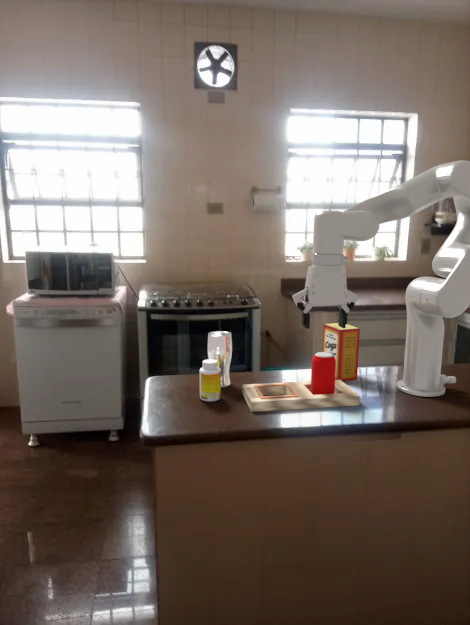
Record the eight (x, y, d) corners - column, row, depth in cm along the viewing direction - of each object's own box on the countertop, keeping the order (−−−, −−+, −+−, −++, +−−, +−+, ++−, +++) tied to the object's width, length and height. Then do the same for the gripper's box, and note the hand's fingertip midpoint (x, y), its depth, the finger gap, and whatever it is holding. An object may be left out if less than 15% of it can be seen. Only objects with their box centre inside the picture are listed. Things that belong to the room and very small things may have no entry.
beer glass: (229, 389, 127) (229, 336, 125) (205, 387, 129) (204, 335, 126) (234, 381, 134) (234, 331, 131) (211, 379, 135) (210, 330, 133)
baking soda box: (321, 372, 142) (323, 322, 140) (339, 370, 145) (341, 321, 142) (338, 382, 134) (340, 328, 131) (357, 379, 136) (359, 327, 133)
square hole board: (339, 388, 128) (340, 378, 128) (359, 405, 116) (360, 394, 115) (242, 393, 124) (242, 383, 123) (251, 411, 111) (251, 400, 111)
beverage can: (331, 403, 117) (333, 358, 115) (307, 399, 119) (309, 355, 117) (336, 396, 122) (338, 352, 120) (314, 392, 125) (315, 350, 123)
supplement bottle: (223, 400, 118) (223, 363, 116) (203, 403, 116) (202, 365, 115) (217, 393, 123) (216, 357, 122) (197, 396, 122) (196, 359, 120)
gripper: (353, 260, 119) (349, 324, 122) (290, 259, 117) (287, 325, 120) (366, 262, 112) (361, 329, 115) (298, 261, 109) (296, 331, 112)
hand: (324, 327), depth 117 cm, fingers open, 9 cm apart
